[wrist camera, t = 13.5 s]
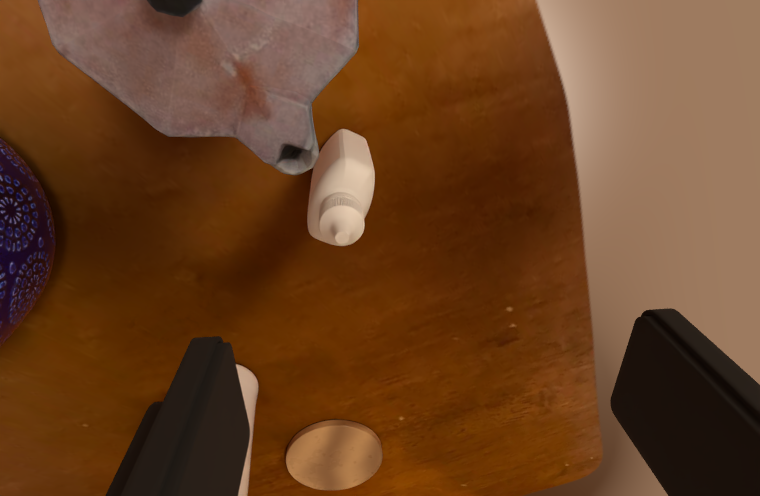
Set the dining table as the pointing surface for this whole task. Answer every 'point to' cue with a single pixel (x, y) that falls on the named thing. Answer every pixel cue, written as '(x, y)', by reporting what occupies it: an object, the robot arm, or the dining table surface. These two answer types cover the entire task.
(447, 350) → the dining table surface
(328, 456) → the cork trivet
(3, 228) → the planter
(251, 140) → the moka pot
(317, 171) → the eye dropper bottle
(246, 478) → the drinking glass
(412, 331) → the dining table surface
